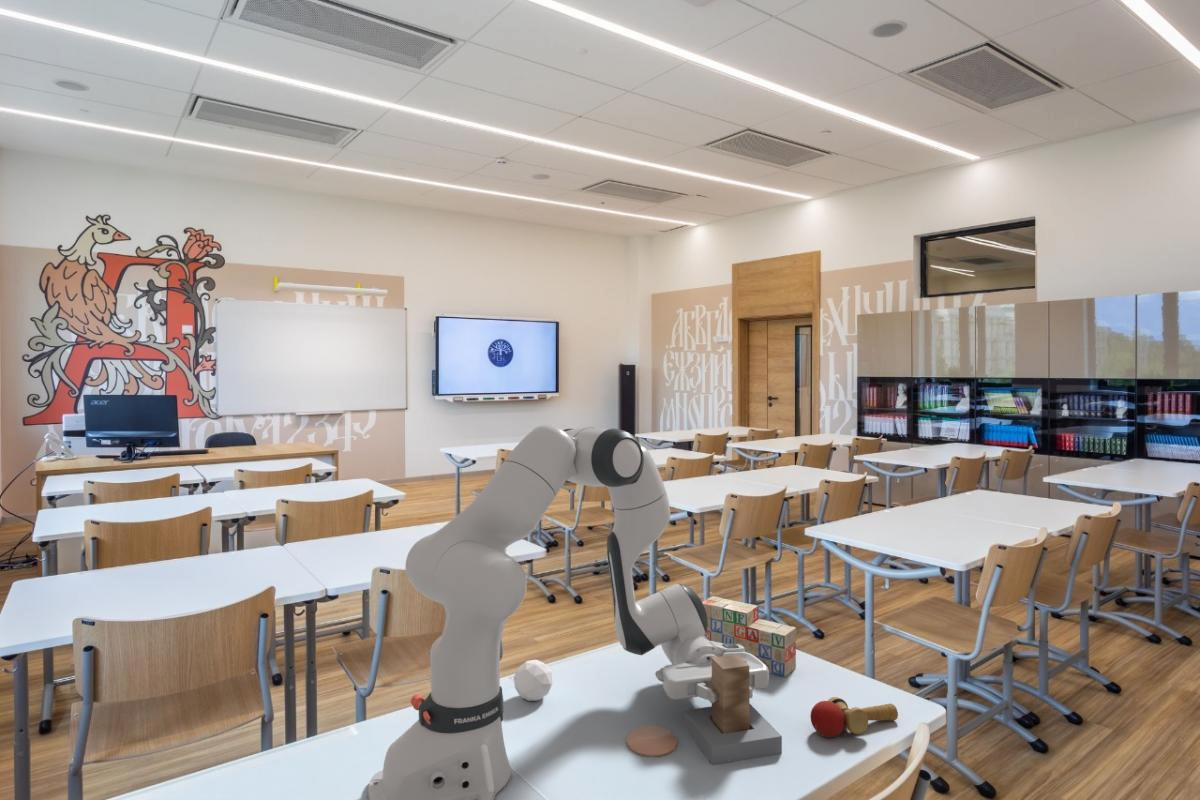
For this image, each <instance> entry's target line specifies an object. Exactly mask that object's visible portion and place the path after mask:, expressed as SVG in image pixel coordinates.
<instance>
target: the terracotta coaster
mask: <svg viewBox="0 0 1200 800" xmlns="http://www.w3.org/2000/svg"><path fill="white" fill-rule="evenodd" d="M626 746H627V747H628V749H629V750H630V751H631V752H633V753H635V754H637V755H640V756H645V757H653V758H654V757H656V758H657V757H662V756H666V755H668V754H671V753H673V752H674V751H675V750H676V748H677V746H678V738H677V736H676V735H675V733H674V732H672V731H671V730H669V729H667V728H664V727H660V726H655V725H654V726H652V725H651V726H650V725H649V726H640V727H637V728H634V729H633V730H631V731H630V732H629V733H628V734H627V736H626Z"/></svg>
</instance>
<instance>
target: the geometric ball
mask: <svg viewBox="0 0 1200 800" xmlns="http://www.w3.org/2000/svg"><path fill="white" fill-rule="evenodd" d="M513 682H514V689H515V690H516V692H517V694H518V696H519V697H520V698H522V699H524V700H527V701H528V702H536V701H540V700H541V699H543V698H544V697H546V696H547V695H548V694H549V692H550V690H551V688H552V685H553V674H552V672H551V670H550V668H549V667H548V666H547V664H546V663H544V662H542V661H541V660H539V659H532V660H531V659H530V660H526V661H525V662H524V663H522V664H521V665H519V666H518V667H517V670H516V672H515V673H514V676H513Z"/></svg>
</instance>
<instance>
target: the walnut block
mask: <svg viewBox="0 0 1200 800" xmlns="http://www.w3.org/2000/svg"><path fill="white" fill-rule="evenodd" d="M712 689H716V690H717V692H718V693H719V702H717V703H711V706H712V722H713V723H714V725H715V726H716V727H717V728H718V730H719V731H720V732H721V733H722V734H725V733H732V732H738V731H745V730H750V704H751V702H750V699H751V698H749V665H748V664H747V663H746V662H745V661H744V660H742V659H741V658H740V657H739V656H738V655H729V656H721V657H712Z"/></svg>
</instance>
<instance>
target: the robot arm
mask: <svg viewBox="0 0 1200 800" xmlns="http://www.w3.org/2000/svg"><path fill="white" fill-rule="evenodd" d="M564 483H568V484H569V483H572V484H576V485H577V484H578V485H581V486H582V485H583V486H587V487H595V488H596V487H606V488H607V489H608V493H609V498H610V501H611V504H612V507H613V512H614V522H613V526H612V531H611V532H610V533H609V534H608V535H607V538H606V555H607V563H608V564H607V565H608V572H609V580H610V585H611V586H610V587H611V594H612V602H613V613H614V615H613V616H614V629H615V634H616V637H617V639H618V642H619V644H620V646H621V647H622V648H623V650H624V651H626V652H628V653H631V654H633V655H638V656H644V655H646V654H647V653H649V652H650V651H652V650H654V649H655V648H656V647H658V646H661V648H662V651H663V653H664V655H665V657H666V658H667V659H668V661H669V662H670V664H667V665H665V666H663V667H660V669H659V670H656V671H655V673H654V675H655V678H656V679H657V681H659V682H662V687H663V690H664V692H665V694H666V696H667V698H669V699H672V700H675V701H676V700H683V699H690V698H691V699H692V698H701V699H704V700H707V701H708V702H710V704H712V703H717V702H719V693H718V692H717V690H716V689H712V657H721V656H729V655H738V656H739V657H740V658H741V659H742V660H744V661H745V662H746V663H747V664H748V665H749V698H750V699H752V698H753V695H754V694H753V693H754V690H759V689H765V688H766V689H767V687H768V686H769V683H770V673H769V670H768V667H767V666H766V665H765V664H764V663H763V662H762V661H760V660H759V659H758V658H757V657H755V656H754V655H752V654H750V653H747V652H745V648H744V647H743V646H742V645H739V644H724V643H718V642H714V641H709V640H708V639H706V638H705V634H706V631H707V624H708V619H707V614H706V610H705V608H704V605H703V603H702V599H701V598H700V597H699V595H698V594H697V593H696V592H695V591H694V590H693V588H691V587H689V586H687V585H686V584H683V583H681V582H677V583H675V584H672V585H670V586H668V587H666V588H663V589H661V590H658V591H657V592H656V593H653V594H651V595H648V596H646V597H644V598H642V599H639V600H637V601H636V595H635V588H634V579H633V569H634V565H635V563H636V561H637V560H638V559H639V557H640V556H642V554H643V553H644V552H645V551H646V550H647V549H648V548H649V547H650V546H651V545H652V544H653V543H654V542H655V541H657V540H658V539H659V538H660V537H661V536H662V534H663V533H664V532H665V530H666V528H667V527H668V524H669V522H670V518H671V506H670V501H669V497H668V494H667V493H668V492H667V491H666V488H665V485H664V482H663V479H662V476H661V474H660V471H659V469H658V466H657V463H656V462H655V461H654V457H652V455H651V453H650V451H649V450H648V449H647V448H646V447H645V446H643V445H641V444H640V442H639V440H638V439H637V438H636V437H635V436H634V435H633V434H631V433H630V432H628V431H626V430H623V429H618V428H609V429H608V428H602V427H592V426H587V427H586V426H585V427H578V428H565V429H561V428H560V427H557V426H555V425H552V424H551V425H550V424H542V425H539V426H536V427H535V428H533V429H532V430H531V431H530V432H529V433H528V434H527V435H526V436H525V437H524V438H523V439H521V441H519V443H518V444H516V446H515V447H514V448H513V449H512V451H511V452H510V453H508V455H507V457H506V458H505V460H504V461H503V462H502V463H501V465H500V466H499V467H498V469H497V470H496V472H495V473H494V474H493V475H492V477H491V479H490V480H489V481H488V482H487V483H486V485H485V486H484V488H483V489H482V490H481V491H480V493H479V494H478V496H476V498H474V500H472V502H471V503H469V505H468V506H466V507H465V508H464V509H463V510H461V512H460V513H458V514H457V515H456V516H455V517H453V518H452V519H451V520H450V521H449V522H448V523H447V524H445V525H444V526H443V527H441V528H439V530H437V531H435V532H434V533H431V534H429V535H426V536H424V537H422V538H420V539H419V540H418V541H416V542H415V543H414V544H413V545H412V547H411V548H410V549H409V552H408V554H407V556H406V560H405V564H404V565H405V573H406V577H407V580H408V581H409V582H410V583H411V585H412V586H413V587H414V588H415V589H416V591H418V592H419V593H420V594H421V595H423V596H424V597H425V598H427V599H429V600H431V601H433V602H436V603H439V604H441V605H443V608H444V610H445V611H444V612H445V622H444V627H443V630H442V633H441V635H440V636H439V637H437V638H436V639H435V640H434V642H433V643H432V645H431V647H430V652H429V655H430V659H429V660H430V663H429V665H430V693H429V694H428V696H427V697H426V698H424V696H423V695H422V694H421V693H415V694H414V695H412V697H411V698H410V704H411V706H412V707H413V709H414V710H415V711H418V720H417V721H415V723H413V724H412V725H411V726H410V727H409V728H408V729H406V731H404V732H403V734H401V735H400V736H399V737H398V738H397V739H395V741H394V742H392V743H391V745H389V747H388V748H387V751H386V753H385V756H384V761H383V768H382V770H380V771H378V772H376V773H374V774H373V776H372V777H371V779H370V781H369V784H368V788H367V790H368V791H367V796H368V797H367V798H368V799H369V800H495V798H496V795H497V794H498V793H499V792H500V791H501V790H503V788H504V787H505V786H506V785H507V784H508V782H509V781H510V778H511V775H512V767H511V764H510V761H509V758H508V754H507V751H506V750H507V749H506V746H505V745H506V744H505V740H504V732H503V725H502V722H503V720H504V695H503V688H502V686H501V683H500V682H501V681H500V679H501V678H500V672H501V671H500V666H501V664H500V661H501V660H500V655H501V654H500V652H501V651H500V650H501V649H500V648H501V640H502V637H503V633H504V629H505V626H506V623H507V620H508V619H509V618H510V617H511V616H512V615H514V614H515V613H516V612H517V611H518V610H519V609H520V607H521V605H522V603H523V602H524V599H525V597H526V594H527V588H528V583H527V582H528V580H527V576H526V575H527V574H526V572H525V569H524V568H523V566H522V565H521V564H520V563H519V562H518V561H517V560H515V559H514V558H513V557H512V556H511V555H509V554H507V553H505V552H504V550H506V549H507V548H509V546H511V545H513V544H514V543H517V542H519V541H521V540H523V539H525V538H527V537H529V536H530V534H532V533H533V532H534V530H535V529H536V527H537V526H538V524H539V523H540V521H541V520H542V518H543V517H544V515H545V514H546V512H547V510H548V509H549V508H550V506H551V504H552V503H553V501H554V500H555V499H556V498H557V495H558V493H559V492H560V491H561V488H562V487H563V485H564Z"/></svg>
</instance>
